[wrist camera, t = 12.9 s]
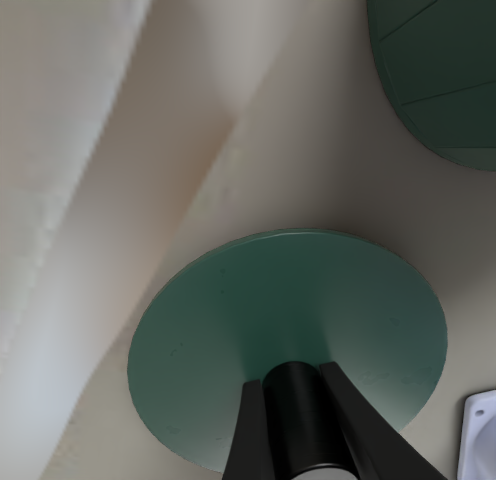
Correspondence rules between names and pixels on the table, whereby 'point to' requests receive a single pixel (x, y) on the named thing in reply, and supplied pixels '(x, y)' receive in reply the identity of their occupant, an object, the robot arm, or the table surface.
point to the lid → (285, 346)
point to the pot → (440, 73)
